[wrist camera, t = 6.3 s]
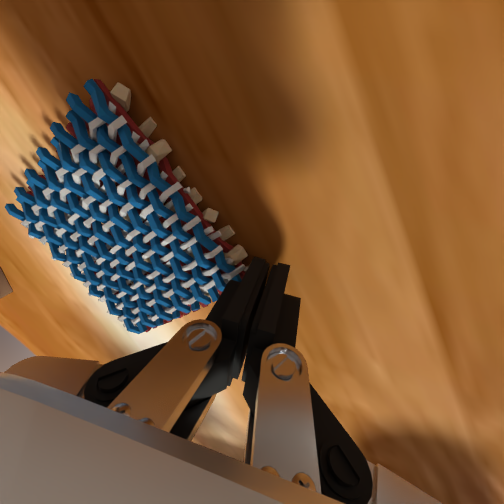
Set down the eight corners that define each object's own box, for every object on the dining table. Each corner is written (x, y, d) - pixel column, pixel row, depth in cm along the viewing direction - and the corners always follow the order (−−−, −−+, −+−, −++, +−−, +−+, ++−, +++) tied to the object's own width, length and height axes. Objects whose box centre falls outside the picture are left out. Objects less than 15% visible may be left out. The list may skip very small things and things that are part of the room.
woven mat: (153, 323, 17) (134, 345, 15) (36, 201, 14) (-4, 212, 12) (270, 271, 12) (262, 296, 10) (126, 68, 9) (81, 56, 7)
